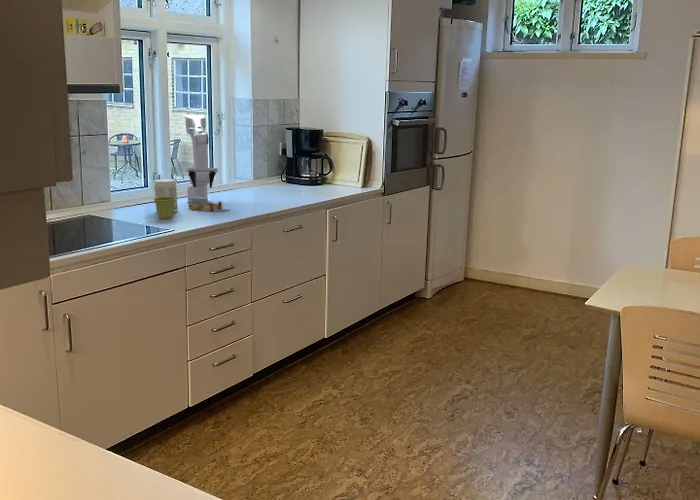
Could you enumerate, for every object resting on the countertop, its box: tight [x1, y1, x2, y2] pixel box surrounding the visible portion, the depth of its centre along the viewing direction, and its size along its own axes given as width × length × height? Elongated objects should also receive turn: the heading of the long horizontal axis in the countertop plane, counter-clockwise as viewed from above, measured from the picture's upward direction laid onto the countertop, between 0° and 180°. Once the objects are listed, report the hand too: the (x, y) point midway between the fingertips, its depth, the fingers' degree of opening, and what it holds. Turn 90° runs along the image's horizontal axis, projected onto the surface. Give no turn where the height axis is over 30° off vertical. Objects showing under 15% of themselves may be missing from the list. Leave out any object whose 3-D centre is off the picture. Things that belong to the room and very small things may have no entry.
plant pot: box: [153, 197, 176, 220], centre depth 302 cm, size 9×9×9 cm
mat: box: [213, 208, 230, 213], centre depth 323 cm, size 6×6×1 cm
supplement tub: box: [154, 178, 178, 214], centre depth 316 cm, size 10×10×15 cm
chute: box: [188, 201, 223, 212], centre depth 326 cm, size 13×8×4 cm, turn 68°
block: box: [191, 197, 209, 205], centre depth 327 cm, size 6×4×5 cm
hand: (202, 187), depth 329 cm, fingers open, 7 cm apart
